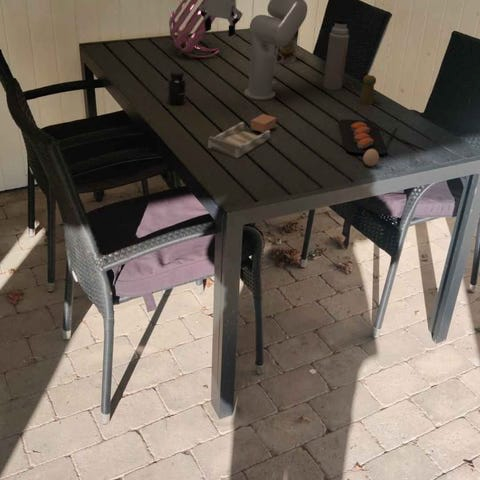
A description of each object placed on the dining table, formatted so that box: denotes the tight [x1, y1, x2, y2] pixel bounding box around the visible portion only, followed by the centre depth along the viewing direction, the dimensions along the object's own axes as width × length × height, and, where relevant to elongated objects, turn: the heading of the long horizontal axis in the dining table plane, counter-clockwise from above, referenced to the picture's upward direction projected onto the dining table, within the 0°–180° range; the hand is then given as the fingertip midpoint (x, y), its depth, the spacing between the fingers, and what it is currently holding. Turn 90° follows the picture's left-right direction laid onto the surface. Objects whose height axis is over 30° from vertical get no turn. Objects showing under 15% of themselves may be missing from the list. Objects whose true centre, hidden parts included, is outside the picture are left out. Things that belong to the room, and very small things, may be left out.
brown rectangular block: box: [250, 113, 277, 134], centre depth 241 cm, size 8×6×4 cm
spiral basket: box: [168, 0, 221, 59], centre depth 305 cm, size 28×28×27 cm
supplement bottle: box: [167, 70, 187, 106], centre depth 256 cm, size 7×7×12 cm
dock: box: [207, 121, 271, 159], centre depth 230 cm, size 20×12×5 cm, turn 146°
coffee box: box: [274, 28, 300, 64], centre depth 306 cm, size 9×6×16 cm
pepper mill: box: [357, 74, 377, 106], centre depth 268 cm, size 6×6×11 cm
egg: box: [363, 149, 380, 167], centre depth 220 cm, size 5×5×6 cm
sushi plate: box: [338, 118, 428, 156], centre depth 239 cm, size 29×30×4 cm
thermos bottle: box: [322, 18, 350, 91], centre depth 277 cm, size 8×8×28 cm
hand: (219, 33), depth 240 cm, fingers open, 9 cm apart
